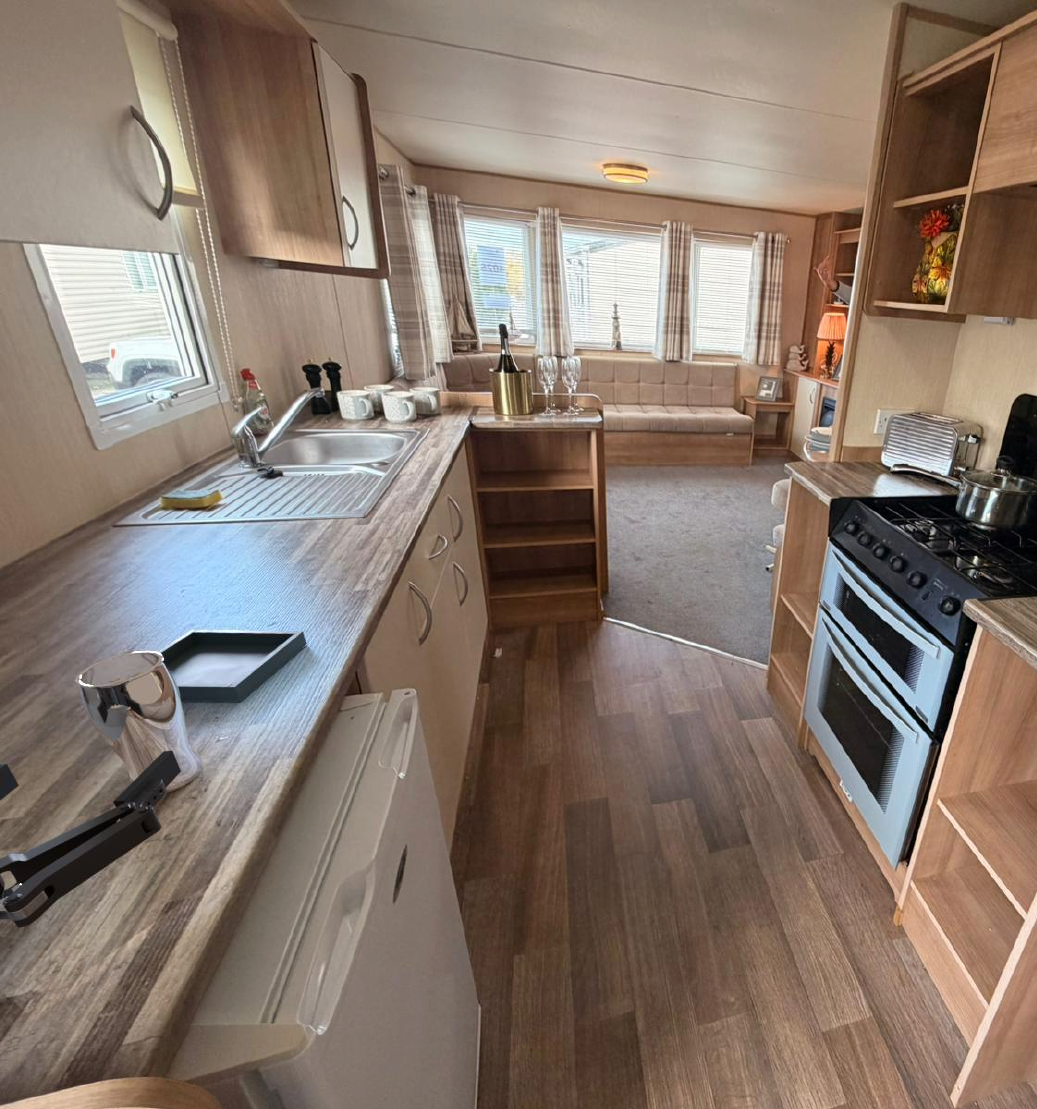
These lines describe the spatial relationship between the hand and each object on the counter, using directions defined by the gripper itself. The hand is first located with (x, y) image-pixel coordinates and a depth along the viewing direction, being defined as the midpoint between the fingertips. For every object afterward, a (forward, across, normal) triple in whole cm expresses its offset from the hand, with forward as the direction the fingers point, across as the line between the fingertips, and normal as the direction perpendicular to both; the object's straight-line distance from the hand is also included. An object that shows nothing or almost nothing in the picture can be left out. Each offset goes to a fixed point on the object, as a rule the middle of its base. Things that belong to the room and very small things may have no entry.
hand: (92, 767), depth 58 cm
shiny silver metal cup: (+7, 0, -8) cm, 11 cm away
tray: (+29, -7, -8) cm, 31 cm away
